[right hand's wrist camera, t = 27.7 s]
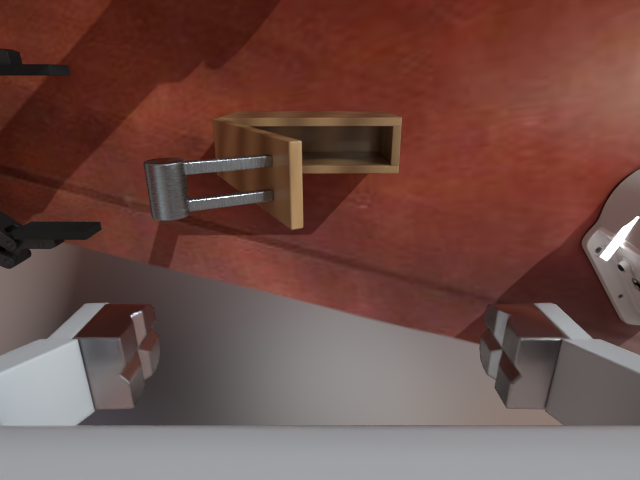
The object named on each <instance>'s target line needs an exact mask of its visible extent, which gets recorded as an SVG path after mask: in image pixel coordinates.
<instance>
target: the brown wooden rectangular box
mask: <svg viewBox="0 0 640 480" xmlns="http://www.w3.org/2000/svg"><path fill="white" fill-rule="evenodd" d="M220 118H221V119H224V120H228V121H232V122H235V123H239V124H242V125H246V126H250V127H253V128H257V129H260V130H264V131H268V132H271V133H275V134H279V135H282V136H286V137H289V138H293V139H297V140H300V141H301V142H302V174H354V173H398V169H399V166H398V165H399V155H400V139H401V123H402V118H401V117H399V116H397V115H394V114H392V113H390V112H387V111H237V112H234V113H231V114H228V115H226V116H223V117H220Z"/></svg>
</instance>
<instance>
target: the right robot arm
mask: <svg viewBox="0 0 640 480" xmlns="http://www.w3.org/2000/svg"><path fill="white" fill-rule="evenodd" d="M582 247H583V249H584V251H585V253H586V255H587V257H588V259H589V260H590V262H591V264H592V266H593V268H594V270H595V272H596V274H597V276H598V278H599V280H600V282H601V283H602V285H603V287H604V289H605V291H606V293H607V295H608V297H609V299H610V301H611V303H612V305H613V306H614V308H615V310H616V312H617V314H618V316H619V318H620V319H621V320H622V321H623V322H625V323H627V324H631V325H640V169H639V170H637V171H635V172H634V173H632V174H631V175H630V176H628V177H627V178H626V179H625V180H624V181H623V182H621V183H620V185H619V186H618V187H617V188H616V189H615V190H614V191H613V193H612V194H611V195H610V197H609V198H608V200H607V202H606V204H605V206H604V208H603V210H602V213H601V215H600V217H599V219H598V221H597V222H596V224H595V225H594V226H593V227H592V228H591V229H590V230H589V231H588V232H587V233H586V235H585V236H584V238H583V240H582ZM598 247H599V248H598ZM596 248H598V250H597V251H595V250H596ZM155 322H156V316H155V311H154V308H153V307H152V305H151V304H125V303H88V304H84V305H83V306H82V307H81V308H80V309H79V310H78V311H77V312H76V313H74V314H73V315H72V316H71V317H70V318H69V319H68V320H67V321H66V322H65V323H64V324H63V325H62V326H60V327H59V328H58V329H57V330H56V331H55V332H54V333H53V334H52V335H51V336H50V337H49V338H47V339H39V340H37V341H34V342H32V343H29V344H27V345H24V346H22V347H19V348H17V349H15V350H12V351H10V352H7V353H5V354H2V355H0V480H640V355H638V354H635V353H633V352H630V351H628V350H625V349H623V348H620V347H618V346H616V345H613V344H611V343H608V342H606V341H603V340H601V339H593V338H592V337H590V336H589V335H588V334H587V333H586V332H585V331H584V330H583V329H582V328H581V327H580V326H579V325H577V324H576V323H575V322H574V321H573V320H572V319H571V318H570V317H569V316H568V315H567V314H566V313H565V312H563V311H562V310H561V309H560V308H559V307H558V306H557V305H556V304H553V303H520V304H491V305H488V306H487V308H486V310H485V315H484V322H485V323H486V325H487V326H488V329H487V330H486V331H485V333H484V334H483V335H482V336H481V340H480V358H481V362H482V365H483V368H484V370H485V372H486V373H487V375H488V376H490V377H492V378H493V379H495V380H496V383H495V389H496V391H497V393H498V394H499V396H500V398H501V400H502V401H503V403H504V405H505V406H506V408H509V409H545V411H546V412H547V413H548V414H550V415H551V416H552V417H554V418H555V419H556V420H558V421H559V422H560V423H562V424H563V425H473V426H472V425H469V426H468V425H464V426H463V425H452V426H451V425H450V426H449V425H433V426H432V425H430V426H429V425H425V426H424V425H421V426H420V425H419V426H417V425H410V426H409V425H408V426H407V425H405V426H403V425H399V426H395V425H388V426H387V425H385V426H384V425H382V426H76V425H77V424H79V423H80V422H81V421H83V420H84V419H85V418H86V417H88V416H89V415H91V414H92V413H93V412H94V411H95V409H130V408H134V406H135V405H136V403H137V401H138V399H139V398H140V396H141V394H142V393H143V391H144V389H145V383H144V380H145V379H147V378H148V377H150V376H152V375H153V373H154V372H155V370H156V368H157V366H158V361H159V357H160V340H159V336H158V335H157V334H156V332H155V331H154V330H153V329H152V326H153V325H154V323H155Z"/></svg>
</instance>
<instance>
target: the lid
mask: <svg viewBox="0 0 640 480" xmlns="http://www.w3.org/2000/svg"><path fill="white" fill-rule="evenodd" d="M212 122H213V133H214V144H215V155H216V159H204V160H191V161H184V160H183V159H180V158H158V159H151V160H147V161H145V162H144V168H145V175H146V181H147V188H148V194H149V201H150V208H151V214H152V218H153V219H156V220H162V221H170V220H178V219H182V218H185V217H187V216H189V215H190V212H191V211H199V210H206V209H214V208H222V207H229V206H237V205H245V204H252V203H256V204H257V205H258V206H260V207H261V208H263V209H264V210H265V211H267V212H268V213H269V214H271V215H272V216H273V217H275V218H276V219H277V220H279V221H280V222H281V223H283V224H284V225H286V226H287V227H288V228H290V229H291V230H294V229H300V228H303V188H302V142H301V141H300V140H297V139H293V138H289V137H286V136H282V135H279V134H275V133H271V132H268V131H264V130H260V129H257V128H253V127H250V126H246V125H242V124H239V123H235V122H232V121H228V120H224V119H221V118H217V119H212ZM212 172H217V175H218V176H219V177H221V178H222V179H223V180H225V181H226V182H227V183H229V184H230V185H231V186H233V187H234V188H235V189H237V190H238V191H240V192H235V193H227V194H218V195H210V196H201V197H193V198H189V196H188V187H187V179H186V175H191V174H202V173H212Z"/></svg>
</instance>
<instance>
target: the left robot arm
mask: <svg viewBox="0 0 640 480" xmlns="http://www.w3.org/2000/svg"><path fill="white" fill-rule="evenodd" d="M0 75H70V72H69V67H68V65H50V64H22V61H21V57H20V53H19V52H17V51H15V50H11V49H0ZM100 230H101V224H100V222H30V223H28V224H26V225H24V226H22V225H21V224H19V223H17V222H16V221H14V220H13V219H11V218H10V217H8V216H7V215H5V214H4V213H2V212H1V211H0V266H2V267H5V268H8V269H11V268H13V267H14V266H16V265H18V264H19V263H21V262H23V261H24V260H26V259H28V258H29V257H30V256H31V251H30V250H29V249H51V248H54V247H56V246H57V245H59V244H61V243H62V242H64V240H86V239H88V238H89V237H91V236H92V235H94V234H95V233H97V232H98V231H100Z"/></svg>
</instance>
